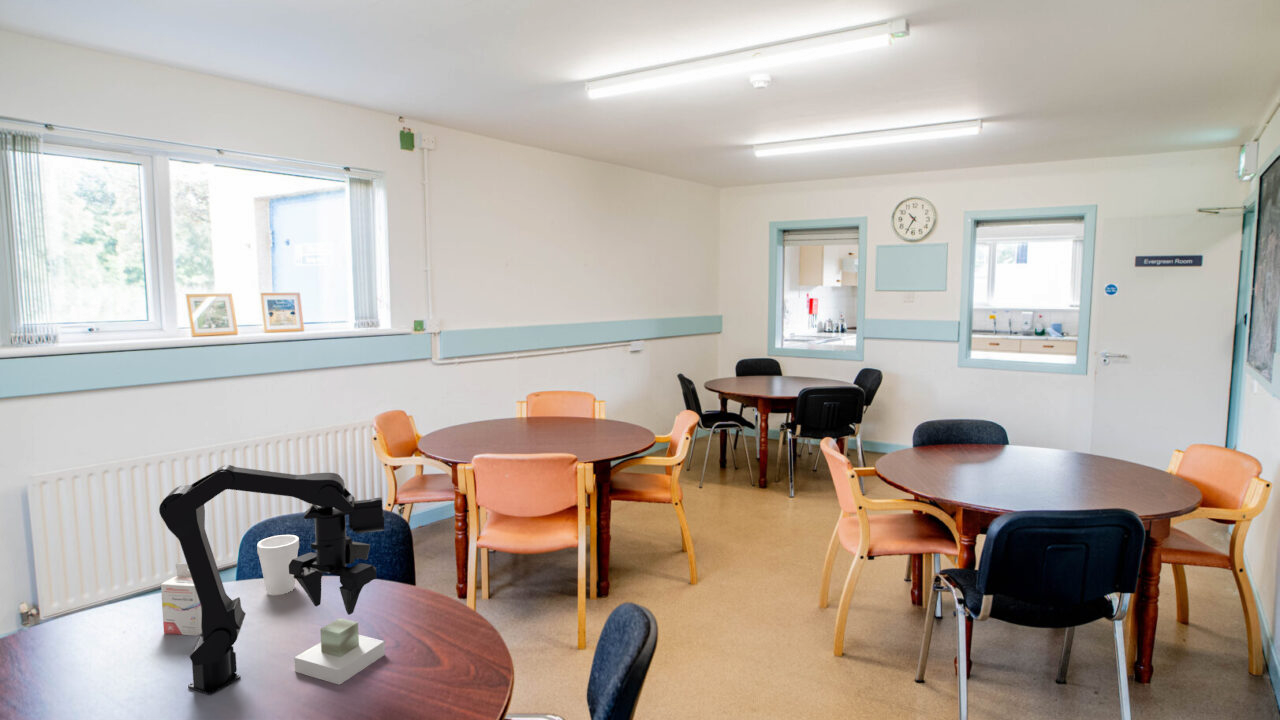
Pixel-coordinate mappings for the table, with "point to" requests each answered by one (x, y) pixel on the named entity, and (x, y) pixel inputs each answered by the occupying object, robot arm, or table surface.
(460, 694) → the table surface
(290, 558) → the foam cup
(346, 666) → the white block
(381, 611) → the table surface
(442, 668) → the table surface
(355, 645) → the sage cube
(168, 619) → the ink cartridge box
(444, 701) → the table surface
